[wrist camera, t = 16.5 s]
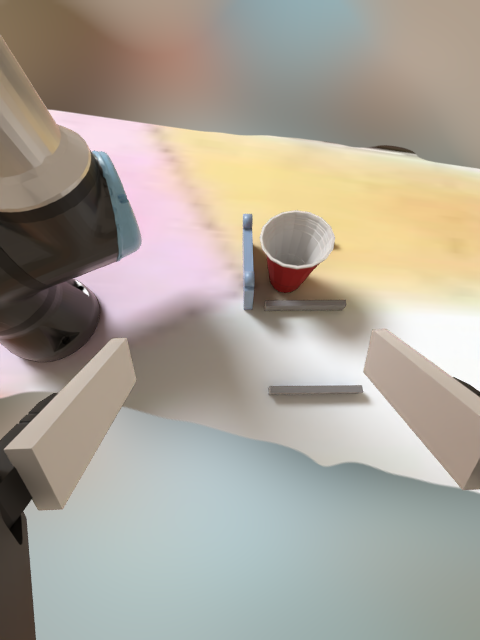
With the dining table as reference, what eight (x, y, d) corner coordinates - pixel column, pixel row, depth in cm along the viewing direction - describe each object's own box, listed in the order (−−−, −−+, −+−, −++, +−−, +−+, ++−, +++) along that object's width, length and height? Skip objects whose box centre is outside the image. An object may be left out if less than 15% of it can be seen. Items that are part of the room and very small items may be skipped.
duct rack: (245, 394, 38) (246, 388, 30) (242, 241, 50) (243, 207, 42) (357, 393, 38) (388, 386, 30) (329, 240, 50) (346, 206, 42)
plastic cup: (269, 248, 49) (277, 198, 38) (320, 268, 47) (344, 222, 36) (245, 290, 45) (247, 249, 34) (299, 314, 44) (320, 278, 32)
